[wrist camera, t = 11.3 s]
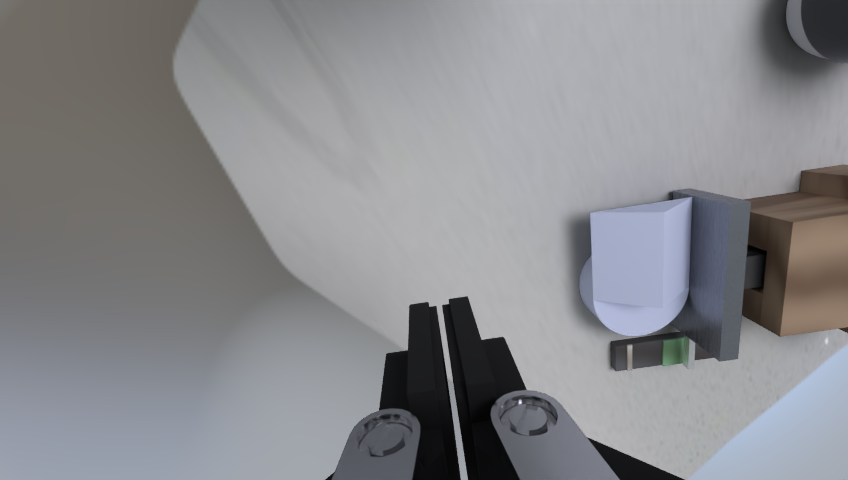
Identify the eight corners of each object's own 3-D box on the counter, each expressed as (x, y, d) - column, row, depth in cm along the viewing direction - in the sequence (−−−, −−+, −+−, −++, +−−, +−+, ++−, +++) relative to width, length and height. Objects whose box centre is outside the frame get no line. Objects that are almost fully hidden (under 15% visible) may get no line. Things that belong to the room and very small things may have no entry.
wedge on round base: (575, 205, 38) (580, 325, 41) (608, 220, 31) (611, 361, 35) (668, 191, 38) (666, 313, 41) (720, 203, 31) (713, 347, 35)
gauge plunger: (673, 191, 37) (730, 204, 30) (783, 174, 37) (865, 184, 30) (668, 356, 42) (717, 400, 35) (765, 343, 42) (833, 384, 35)
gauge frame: (608, 199, 38) (657, 217, 30) (844, 164, 37) (955, 173, 30) (611, 365, 43) (654, 417, 35) (819, 336, 42) (909, 382, 35)
